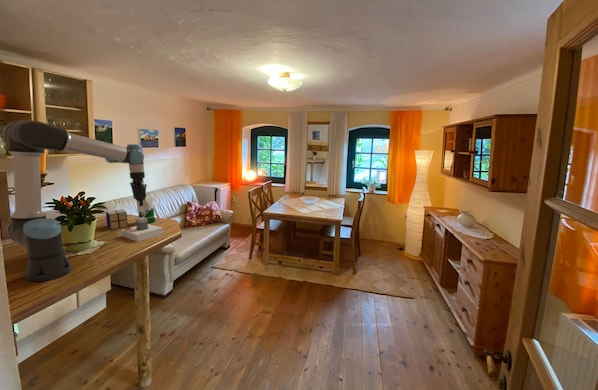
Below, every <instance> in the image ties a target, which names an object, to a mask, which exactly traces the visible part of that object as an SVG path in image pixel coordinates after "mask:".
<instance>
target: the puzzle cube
mask: <svg viewBox="0 0 598 390" xmlns="http://www.w3.org/2000/svg"><path fill="white" fill-rule="evenodd" d="M127 214H128V212H127V211H125V209H123V208H122V209H115V210H107V211H105V217H106V224H107V225H106V226H107V227H108V228H109V229H110V230H117V229H122V228H123V229H124V228H129V223H128V215H127Z"/></svg>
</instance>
